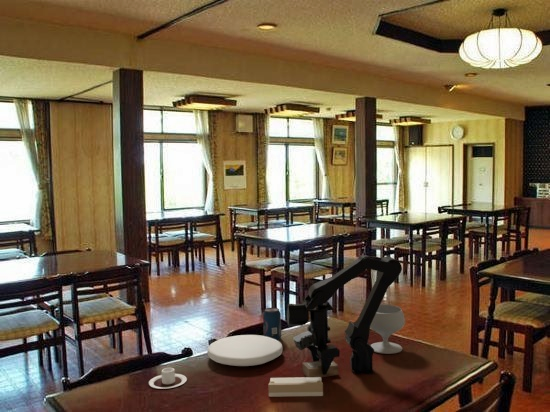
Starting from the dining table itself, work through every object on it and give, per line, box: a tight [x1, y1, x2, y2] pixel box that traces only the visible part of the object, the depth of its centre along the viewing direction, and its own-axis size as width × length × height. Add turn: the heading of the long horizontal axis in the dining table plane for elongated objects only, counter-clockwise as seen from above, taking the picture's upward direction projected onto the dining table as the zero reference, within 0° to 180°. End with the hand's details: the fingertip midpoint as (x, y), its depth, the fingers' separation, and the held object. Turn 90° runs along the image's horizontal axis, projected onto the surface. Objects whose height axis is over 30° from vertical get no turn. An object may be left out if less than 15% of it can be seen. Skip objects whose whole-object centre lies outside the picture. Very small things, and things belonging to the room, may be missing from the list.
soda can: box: [262, 307, 282, 341], centre depth 208 cm, size 7×7×12 cm
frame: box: [302, 360, 339, 378], centre depth 173 cm, size 10×6×4 cm, turn 107°
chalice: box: [370, 304, 406, 355], centre depth 193 cm, size 14×14×15 cm
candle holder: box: [148, 367, 188, 390], centre depth 170 cm, size 12×12×4 cm
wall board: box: [267, 376, 324, 398], centre depth 162 cm, size 16×11×4 cm
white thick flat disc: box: [207, 334, 283, 367], centre depth 190 cm, size 28×6×27 cm
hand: (320, 370), depth 173 cm, fingers open, 7 cm apart
